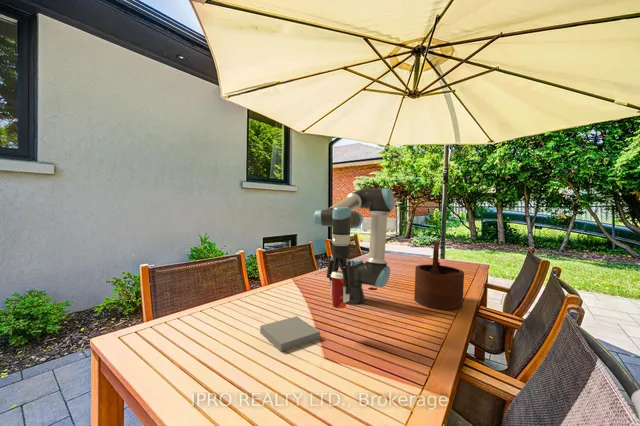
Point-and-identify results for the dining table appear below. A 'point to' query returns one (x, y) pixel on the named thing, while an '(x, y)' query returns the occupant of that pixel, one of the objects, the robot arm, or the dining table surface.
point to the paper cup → (338, 289)
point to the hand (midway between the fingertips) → (339, 298)
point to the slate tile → (289, 333)
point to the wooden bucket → (439, 285)
